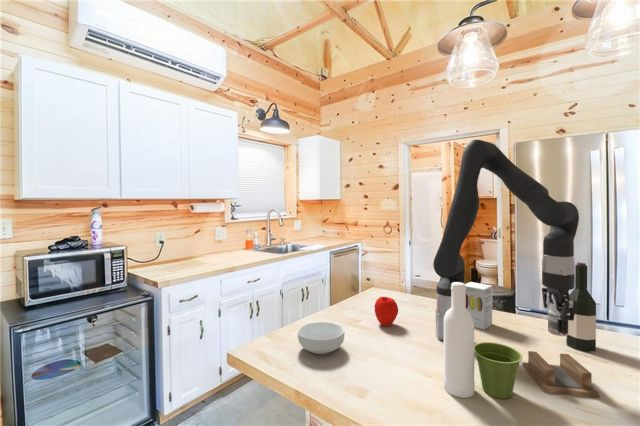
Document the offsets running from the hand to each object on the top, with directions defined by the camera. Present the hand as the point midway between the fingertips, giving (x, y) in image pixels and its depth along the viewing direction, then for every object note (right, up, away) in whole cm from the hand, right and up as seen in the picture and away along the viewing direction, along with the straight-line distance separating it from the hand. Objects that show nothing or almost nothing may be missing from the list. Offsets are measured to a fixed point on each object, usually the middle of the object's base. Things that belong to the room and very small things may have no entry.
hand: (557, 328), depth 90 cm
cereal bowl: (-69, -16, +23) cm, 74 cm away
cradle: (0, -15, 0) cm, 15 cm away
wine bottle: (+24, -14, +21) cm, 35 cm away
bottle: (-30, -16, -3) cm, 34 cm away
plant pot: (-20, -16, -4) cm, 26 cm away
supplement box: (-2, -14, +43) cm, 45 cm away
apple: (-40, -15, +44) cm, 62 cm away
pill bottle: (0, -2, 0) cm, 2 cm away
